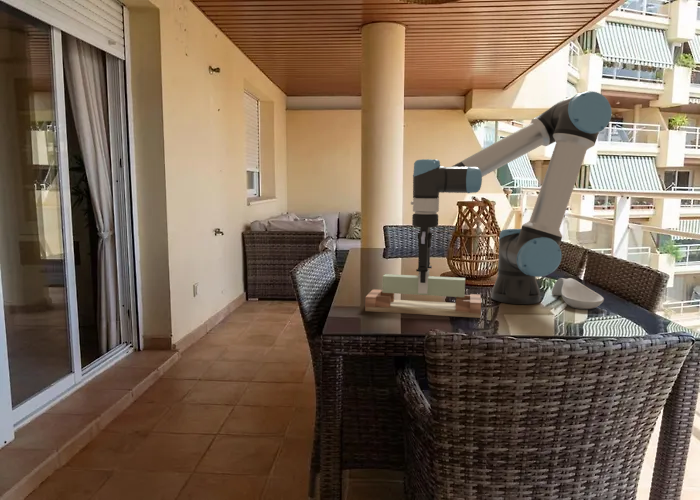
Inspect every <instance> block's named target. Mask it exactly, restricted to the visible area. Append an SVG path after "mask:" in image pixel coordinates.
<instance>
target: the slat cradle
mask: <svg viewBox="0 0 700 500" xmlns="http://www.w3.org/2000/svg"><path fill="white" fill-rule="evenodd" d="M364 298H365V301H364V302H365V303H364V305H365V307H364V308H365V310H364V311H365V312H378V313H391V314H392V313H394V314H407V315H410V314H411V315H412V314H413V315H423V316H424V315H429V316H443V317H445V316H446V317H448V316H449V317H457V318H459V317H462V318H479V319H481V317H482V316H481V315H482V297H481V294H480V293H479V294H478V293H477V294H476V293H469V294H465V296H464V297H455V298H456V299H455V302H444V301H429V300H428V301H425V300H410V299H409V300H407V299H405V300H404V299H395V293H382V289H380V288H379V289H377V288H373V289H372V290H371V291H370V292H368V294H367V295H366V296H365V297H364Z"/></svg>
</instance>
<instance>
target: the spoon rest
mask: <svg viewBox="0 0 700 500" xmlns="http://www.w3.org/2000/svg"><path fill="white" fill-rule="evenodd" d="M551 295H553V296H561V298H562V300H563V301H564V302H565V304H567V305H568V306H569V307H571V308H573V309H576V310H577V309H578V310H593V309H595V308H598V307H599V306H600V305H601V304H602V303H604V300H605V298H604V296H602V295H601V294H599V293H598V292H595V290H592V289H591V288H589V287H587V286H586V285H584V284H583V283H581V282H579V281H578V280H576V279H575V278H572V277H569V278H563V277H560V278H558V279H557V280H556V281H555V282H554V285H553V287H552V290H551Z"/></svg>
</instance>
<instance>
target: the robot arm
mask: <svg viewBox="0 0 700 500" xmlns="http://www.w3.org/2000/svg"><path fill="white" fill-rule="evenodd" d="M612 111H613V110H612V106H611V104H610V102H609V100H608V98H607V97H606V96H605V95H603V94H602V93H600V92H598V91H592V90H591V91H590V90H589V91H581V92H578V93H576V94H574V95H573V96H570V97H568V98H565V99H564V98H563V99H562V100H560V101H559V102H557V103H555V104H553V105H552V106H550V107H549V108H548V109H546V110H545V111H544V112H543V113H541V114H540V113H539V115H537V116H535V117H533V118H531V121H530V123H529V124H527V125H526V126H524V127H522V128H520V129H518V130H517V131H514V132H513V133H511V134H509V135H507V136H505V137H503V138H502V139H500V140H498V141H496V142H494V143H492V144H490V145H489V146H487V147H484V148H483V149H481V150H479V151H478V152H475V153H474V154H472V155H471V156H470V155H469V156H468V157H467V158H464V159H463V160H460V162H457V163H455V164H454V165H451V166H443V165H442V166H441V164H440V163H441V162H440V160H439V159H436V158H434V159H432V158H431V159H429V158H428V159H427V158H426V159H424V158H423V159H417V160H415V161H414V163H413V175H412V183H413V184H412V200H411V202H410V205H412V218H411V219H412V223H411V225H412V226H413V227H415V228H416V227H417V228H419V229H420V231H419V232H417V240H418V241H417V247H418V261H417V263H418V265H417V268H416V269H415V271H416V272H418V275H417V276H418V293H422V294H427V293H428V276H430V270H431V269H432V268H433V267H432V265H431V261H430V260H431V247H432V237H433V232H430V231H431V228H436V227H438V226H439V215H438V213H439V209H440V208H439V207H440V193H442V194H444V193H448V194H451V193H452V194H454V193H455V194H459V193H460V194H473V193H475V194H476V193H478V192H480V190H481V189H482V183H483V177H485V176H486V175H488V174H490V173H493V172H494V171H496V170H497V169H499V168H502V167H504V166H505V165H507V164H509V163H511V162H513V161H515V160H516V159H519V158H521V157H522V156H524V155H526V154H528V153H530V152H532V151H533V150H535V149H537V148H539V147H541V146H544V147H548V146H549V145H551V144H554V143H555V146H554V149H553V151H552V154H551V156H550V157H551V158H550V161H549V162H548V165H547V169H546V172H545V174H544V178H543V180H542V183H541V185H540V186H541V187H540V189H539V192H538V195H537V197H536V198H537V199H536V201H535V204H534V207H533V209H532V213H531V215H530V218H529V220H528V221H527V222H526V223H524V224H522V226H521V228H505V229H502V230H501V231H500V232H499V238H498V263H497V267H498V268H497V269H498V270H497V277H496V278H495V279H496V280H495V281H494V285H493V287H492V290H491V299H492V300H493V301H496V302H498V303H499V302H500V303H505V304H510V305H511V304H512V305H534V304H538V303H540V302H541V292H540V288H539V285H538V281H537V277H538V278H541V277H547V276H548V275H550V274H552V273H554V272H555V271H556V270H557V269H558V267H559V266H560V265H561V262H562V257H563V255H562V250H561V247H560V245H561V242H562V239H563V234H562V233H561V231H560V228H561V224H562V222H563V219H564V216H565V213H566V211H567V208H568V205H569V201H570V199H571V197H572V193H573V190H574V188H575V185H576V181H577V179H578V176H579V173H580V171H581V167H582V165H583V162H584V159H585V156H586V153H587V150H589V149H591V148H593V147H594V146H595V145H596V142H597V139H598V136H599V133H600V132H602V131H603V130H605V129H606V127H608V125H609V124H610V122H611V119H612V114H613V112H612ZM413 212H414V213H413Z"/></svg>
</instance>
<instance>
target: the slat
mask: <svg viewBox="0 0 700 500" xmlns="http://www.w3.org/2000/svg"><path fill="white" fill-rule="evenodd" d="M418 276H419V275H414V274H413V275H412V274H391V273H389V274H388V273H385V274H384V275H382V285H381V288H382V289H381V290H382V293H394V294H401V295H402V294H403V295H416V296H417V295H419V296H434V297H436V296H437V297H454V298H456V297H464V296H465V295H466V294H465V291H466V277H455V276H453V277H451V276H436V275H435V276H433V275H432V276H431V275H429V276H428V293H427V294H422V293H418Z"/></svg>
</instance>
